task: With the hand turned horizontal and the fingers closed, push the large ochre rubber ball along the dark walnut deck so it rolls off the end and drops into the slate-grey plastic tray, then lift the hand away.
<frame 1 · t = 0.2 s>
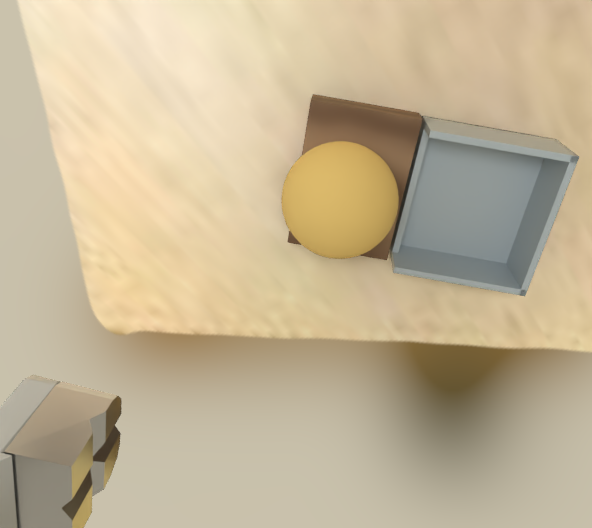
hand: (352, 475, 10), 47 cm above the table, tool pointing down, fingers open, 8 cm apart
deck: (351, 175, 56), on the table
ball: (339, 200, 49), point 8 cm above the table, touching deck
tray: (468, 195, 56), on the table
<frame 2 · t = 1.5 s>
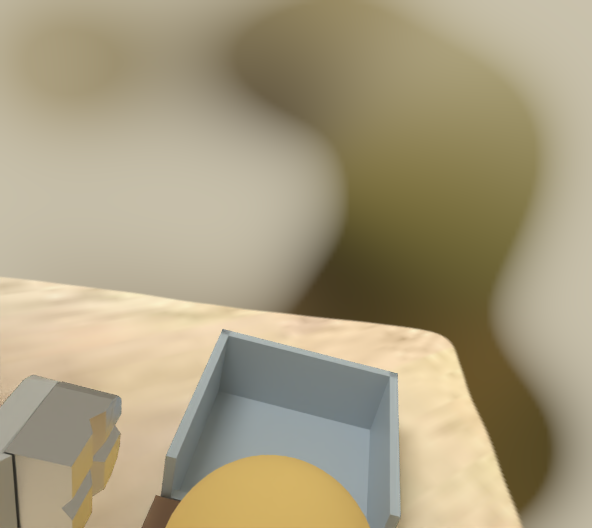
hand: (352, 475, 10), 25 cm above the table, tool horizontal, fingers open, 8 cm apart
tray: (281, 470, 40), on the table
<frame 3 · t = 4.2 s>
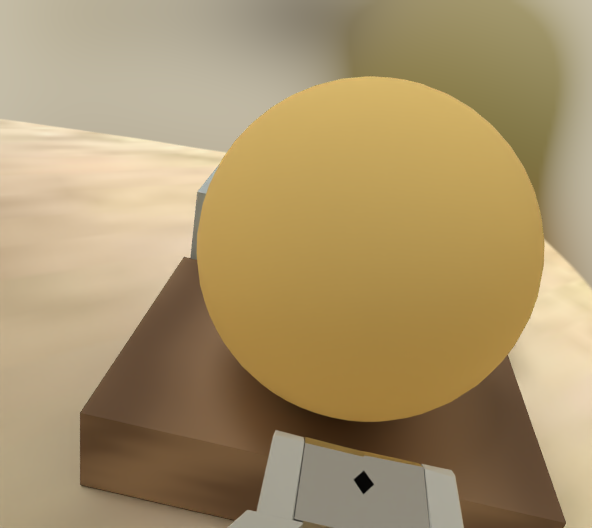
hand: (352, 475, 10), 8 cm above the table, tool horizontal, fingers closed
deck: (315, 421, 22), on the table
ball: (364, 250, 17), point 8 cm above the table, touching deck
tray: (334, 276, 32), on the table
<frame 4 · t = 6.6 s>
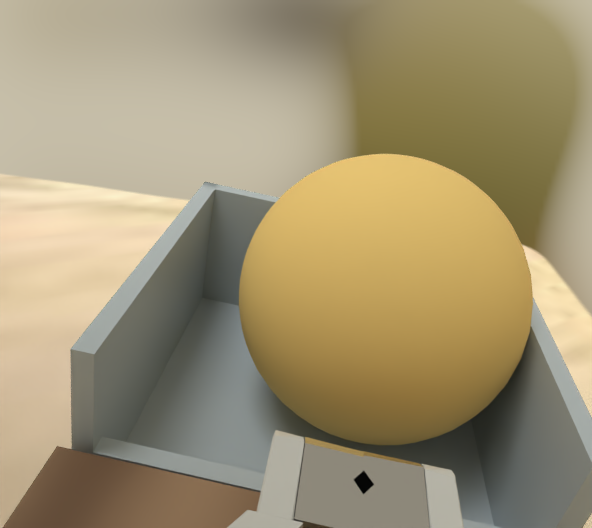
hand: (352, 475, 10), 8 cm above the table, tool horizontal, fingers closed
ball: (380, 297, 20), point 5 cm above the table, tilted 163°, touching tray
tray: (316, 414, 22), on the table
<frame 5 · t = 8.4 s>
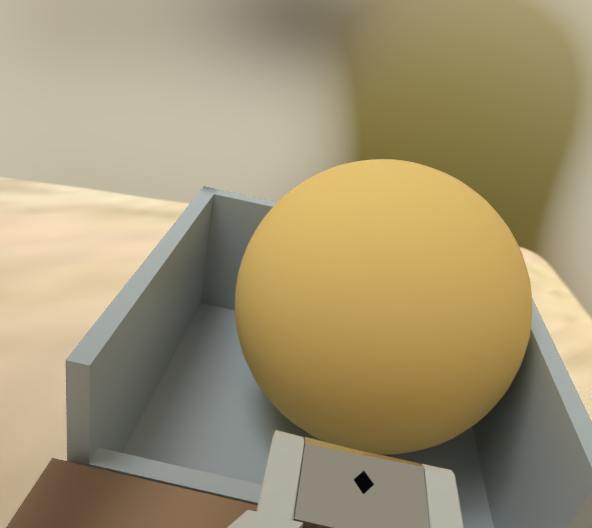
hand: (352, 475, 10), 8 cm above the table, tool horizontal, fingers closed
ball: (378, 304, 20), point 5 cm above the table, tilted 163°, touching tray
tray: (315, 422, 22), on the table
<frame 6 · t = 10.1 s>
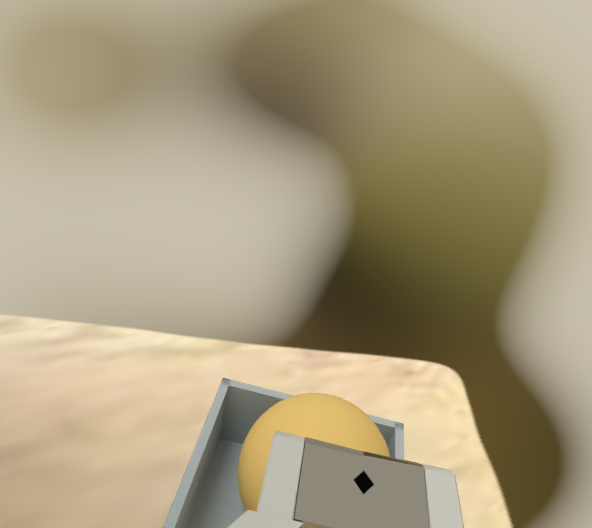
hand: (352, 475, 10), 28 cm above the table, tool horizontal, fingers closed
ball: (314, 471, 37), point 5 cm above the table, tilted 162°, touching tray
tray: (283, 526, 39), on the table
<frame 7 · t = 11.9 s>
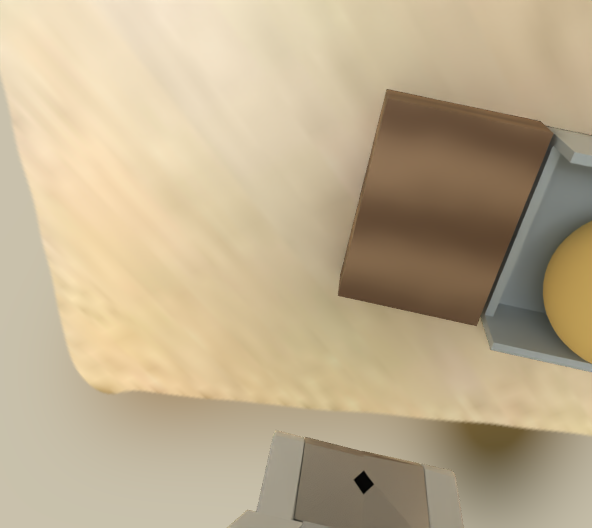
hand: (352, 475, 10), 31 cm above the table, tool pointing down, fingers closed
deck: (431, 205, 40), on the table
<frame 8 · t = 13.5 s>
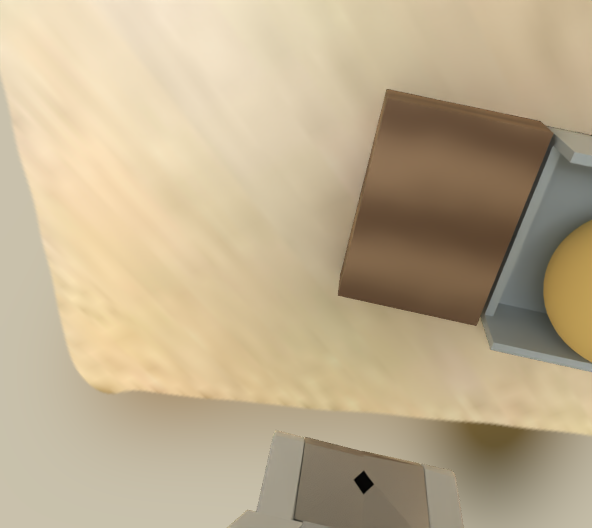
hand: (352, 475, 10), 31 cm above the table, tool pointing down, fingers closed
deck: (431, 205, 40), on the table
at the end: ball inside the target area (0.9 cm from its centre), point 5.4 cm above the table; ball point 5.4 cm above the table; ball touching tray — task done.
